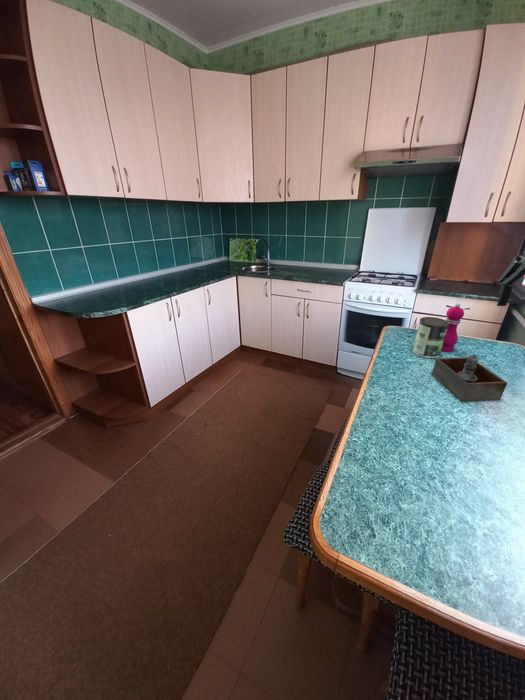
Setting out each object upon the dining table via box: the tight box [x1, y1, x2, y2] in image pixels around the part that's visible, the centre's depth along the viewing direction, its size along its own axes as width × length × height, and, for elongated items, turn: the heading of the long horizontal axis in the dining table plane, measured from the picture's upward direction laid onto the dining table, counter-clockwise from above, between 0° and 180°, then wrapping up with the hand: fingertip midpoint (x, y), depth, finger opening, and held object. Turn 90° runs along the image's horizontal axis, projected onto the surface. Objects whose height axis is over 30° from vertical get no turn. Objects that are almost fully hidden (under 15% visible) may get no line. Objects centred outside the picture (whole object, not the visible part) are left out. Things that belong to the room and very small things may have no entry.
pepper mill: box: [441, 303, 465, 353], centre depth 120 cm, size 7×7×20 cm
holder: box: [431, 356, 508, 403], centre depth 98 cm, size 13×17×7 cm
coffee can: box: [412, 316, 449, 359], centre depth 118 cm, size 10×10×14 cm
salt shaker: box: [457, 353, 479, 383], centre depth 96 cm, size 6×6×12 cm
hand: (518, 312), depth 92 cm, fingers open, 13 cm apart
